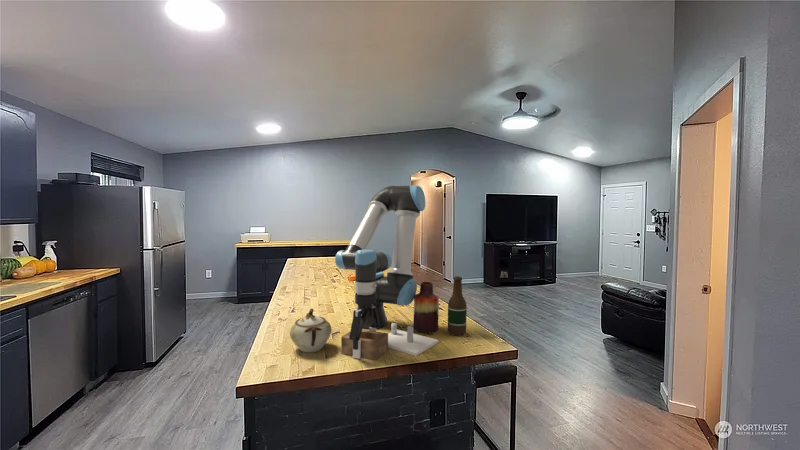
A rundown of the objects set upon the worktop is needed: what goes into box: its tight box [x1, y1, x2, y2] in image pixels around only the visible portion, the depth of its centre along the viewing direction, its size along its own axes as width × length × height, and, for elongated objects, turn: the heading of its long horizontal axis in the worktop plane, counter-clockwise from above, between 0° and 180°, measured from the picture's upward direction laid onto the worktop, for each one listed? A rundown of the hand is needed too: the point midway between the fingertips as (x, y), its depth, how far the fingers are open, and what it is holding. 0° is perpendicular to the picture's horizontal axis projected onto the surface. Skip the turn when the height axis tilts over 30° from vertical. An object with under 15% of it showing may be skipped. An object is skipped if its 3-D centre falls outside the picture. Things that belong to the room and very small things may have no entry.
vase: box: [412, 281, 440, 334], centre depth 150 cm, size 11×11×20 cm
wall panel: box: [387, 322, 439, 357], centre depth 135 cm, size 20×16×6 cm
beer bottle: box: [447, 275, 468, 337], centre depth 146 cm, size 8×8×24 cm
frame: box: [340, 329, 389, 361], centre depth 126 cm, size 14×10×6 cm
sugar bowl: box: [289, 308, 332, 353], centre depth 128 cm, size 20×15×15 cm
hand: (365, 351), depth 126 cm, fingers open, 12 cm apart
